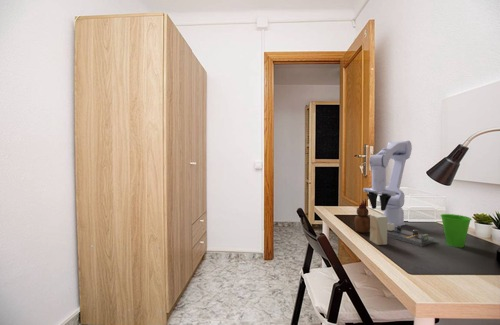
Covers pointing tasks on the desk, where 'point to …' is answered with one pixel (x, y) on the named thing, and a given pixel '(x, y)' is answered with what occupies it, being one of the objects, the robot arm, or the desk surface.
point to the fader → (390, 226)
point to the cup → (455, 229)
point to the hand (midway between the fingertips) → (378, 209)
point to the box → (378, 229)
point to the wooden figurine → (362, 219)
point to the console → (410, 236)
